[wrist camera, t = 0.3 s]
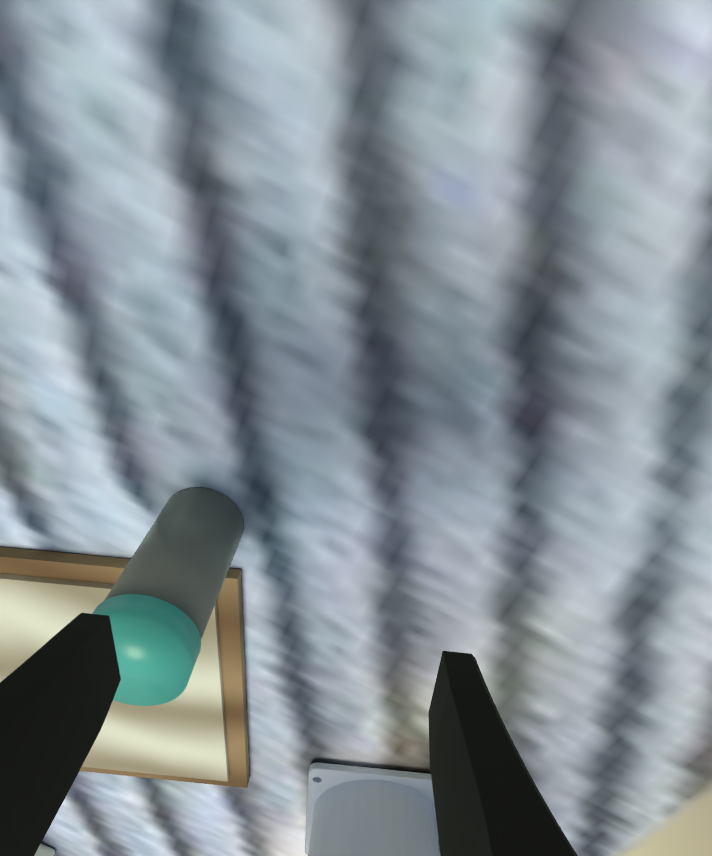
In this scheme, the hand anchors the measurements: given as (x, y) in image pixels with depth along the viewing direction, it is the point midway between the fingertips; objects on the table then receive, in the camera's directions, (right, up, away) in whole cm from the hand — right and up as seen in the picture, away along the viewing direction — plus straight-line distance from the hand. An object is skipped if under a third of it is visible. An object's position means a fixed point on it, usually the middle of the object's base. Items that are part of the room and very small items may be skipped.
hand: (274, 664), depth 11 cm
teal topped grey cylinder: (-5, +1, +11) cm, 12 cm away
